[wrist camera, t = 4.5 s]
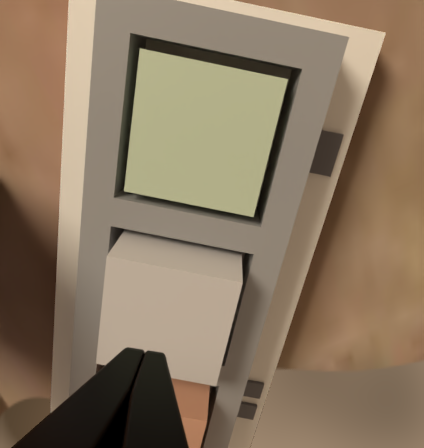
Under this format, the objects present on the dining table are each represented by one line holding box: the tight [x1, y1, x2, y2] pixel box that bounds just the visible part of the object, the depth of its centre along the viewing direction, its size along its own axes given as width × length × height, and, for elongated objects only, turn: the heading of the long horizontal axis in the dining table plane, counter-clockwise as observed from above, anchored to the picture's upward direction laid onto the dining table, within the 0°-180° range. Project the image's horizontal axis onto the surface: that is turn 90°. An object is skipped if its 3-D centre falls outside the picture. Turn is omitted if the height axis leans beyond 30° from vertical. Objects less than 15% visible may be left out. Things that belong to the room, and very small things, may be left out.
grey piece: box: [50, 0, 386, 448], centre depth 18 cm, size 12×24×4 cm, turn 169°
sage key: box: [124, 48, 288, 217], centre depth 15 cm, size 5×5×2 cm
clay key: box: [171, 378, 210, 448], centre depth 19 cm, size 5×5×2 cm
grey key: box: [96, 230, 243, 386], centre depth 16 cm, size 5×5×2 cm
